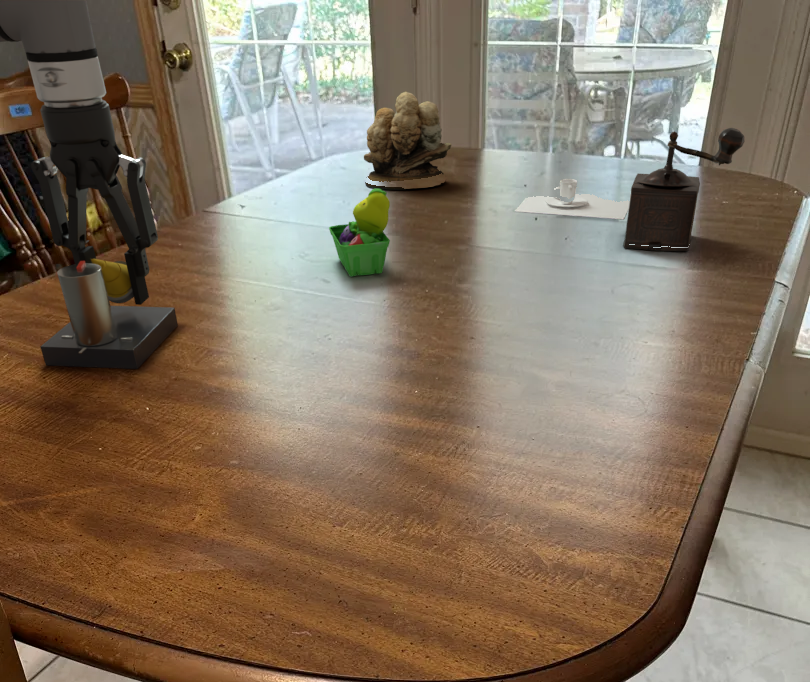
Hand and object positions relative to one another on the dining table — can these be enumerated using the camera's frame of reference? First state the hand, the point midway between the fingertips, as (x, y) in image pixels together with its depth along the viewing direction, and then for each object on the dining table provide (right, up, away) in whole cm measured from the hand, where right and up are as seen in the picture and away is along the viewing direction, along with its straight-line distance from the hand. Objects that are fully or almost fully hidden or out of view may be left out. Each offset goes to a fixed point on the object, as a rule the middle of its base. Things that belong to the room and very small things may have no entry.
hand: (120, 299), depth 108 cm
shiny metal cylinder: (-1, -6, -5) cm, 8 cm away
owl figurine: (+38, +43, +64) cm, 86 cm away
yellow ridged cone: (0, 0, 0) cm, 1 cm away
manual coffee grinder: (+81, +17, +28) cm, 88 cm away
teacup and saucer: (+70, +33, +50) cm, 93 cm away
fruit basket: (+31, +12, +23) cm, 40 cm away
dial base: (-1, -6, 0) cm, 6 cm away
